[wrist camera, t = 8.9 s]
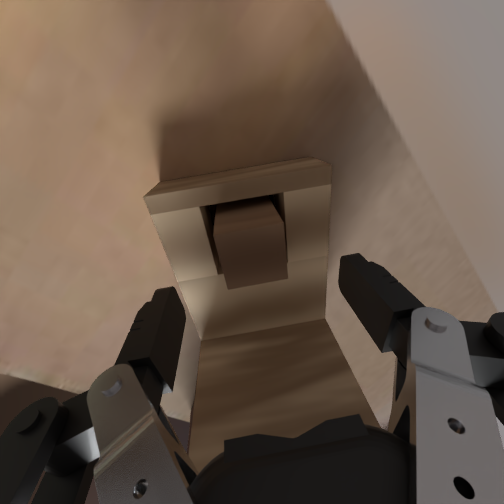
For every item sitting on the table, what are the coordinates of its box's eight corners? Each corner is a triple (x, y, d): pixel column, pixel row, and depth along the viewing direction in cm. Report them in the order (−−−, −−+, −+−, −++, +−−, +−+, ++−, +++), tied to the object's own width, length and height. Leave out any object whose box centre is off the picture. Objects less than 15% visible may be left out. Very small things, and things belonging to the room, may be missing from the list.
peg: (217, 198, 18) (213, 235, 12) (264, 190, 18) (283, 222, 12) (227, 240, 20) (227, 290, 14) (269, 232, 20) (288, 278, 14)
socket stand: (146, 184, 17) (-437, 637, 2) (323, 154, 17) (972, 362, 2) (203, 332, 26) (174, 618, 11) (319, 311, 26) (444, 562, 11)
